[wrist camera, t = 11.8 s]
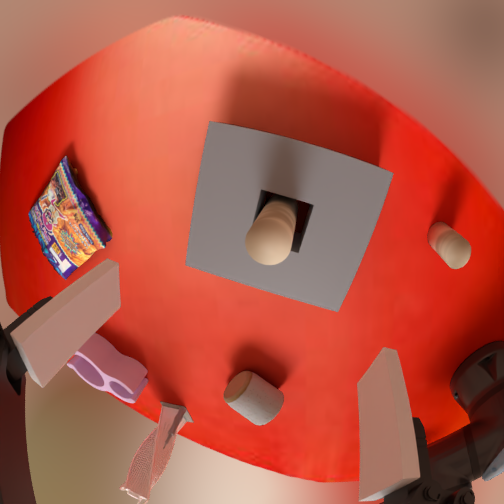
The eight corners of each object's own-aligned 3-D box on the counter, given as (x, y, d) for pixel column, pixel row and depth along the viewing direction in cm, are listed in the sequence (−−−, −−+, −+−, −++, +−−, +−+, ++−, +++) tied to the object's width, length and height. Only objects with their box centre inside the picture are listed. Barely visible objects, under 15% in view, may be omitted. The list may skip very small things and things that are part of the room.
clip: (147, 358, 50) (131, 381, 43) (149, 390, 55) (136, 411, 49) (76, 320, 51) (57, 337, 45) (84, 354, 57) (69, 371, 51)
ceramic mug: (253, 361, 43) (241, 396, 36) (287, 385, 44) (281, 420, 37) (217, 382, 48) (204, 413, 41) (249, 403, 49) (240, 434, 42)
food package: (130, 249, 40) (114, 260, 36) (65, 289, 49) (52, 298, 45) (74, 134, 34) (55, 137, 30) (22, 204, 43) (8, 210, 39)
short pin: (453, 227, 28) (475, 244, 22) (443, 251, 29) (462, 272, 24) (433, 217, 28) (454, 234, 23) (423, 243, 30) (440, 263, 24)
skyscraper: (195, 424, 58) (155, 513, 33) (168, 417, 60) (125, 500, 35) (185, 405, 55) (137, 503, 29) (156, 399, 56) (106, 488, 31)
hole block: (378, 166, 28) (393, 173, 22) (335, 285, 34) (337, 312, 29) (227, 123, 29) (209, 121, 24) (203, 245, 36) (185, 265, 31)
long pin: (302, 196, 31) (297, 229, 20) (293, 224, 33) (284, 270, 22) (272, 187, 31) (250, 215, 21) (264, 215, 33) (240, 257, 22)
